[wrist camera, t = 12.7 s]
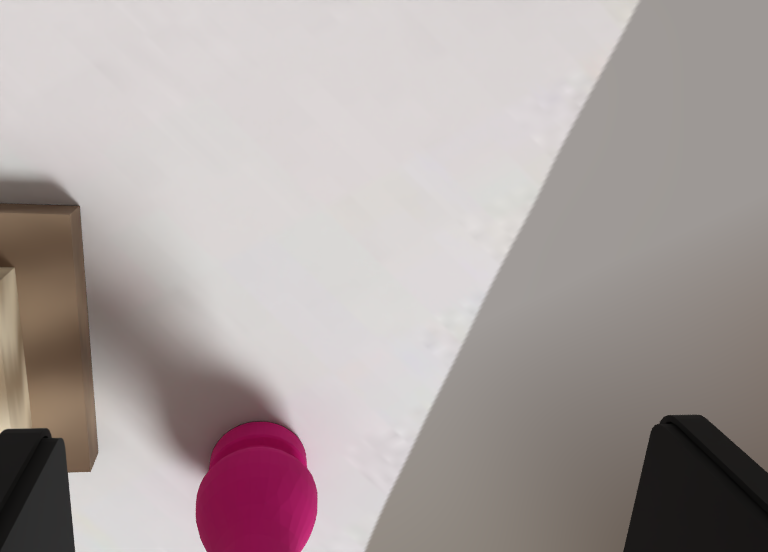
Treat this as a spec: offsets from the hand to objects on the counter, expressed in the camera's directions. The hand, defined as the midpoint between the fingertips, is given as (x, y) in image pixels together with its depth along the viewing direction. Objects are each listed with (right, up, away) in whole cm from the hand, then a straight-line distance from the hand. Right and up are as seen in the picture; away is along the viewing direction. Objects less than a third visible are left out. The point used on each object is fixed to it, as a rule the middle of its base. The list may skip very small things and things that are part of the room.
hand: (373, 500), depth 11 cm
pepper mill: (-8, -9, +35) cm, 37 cm away
